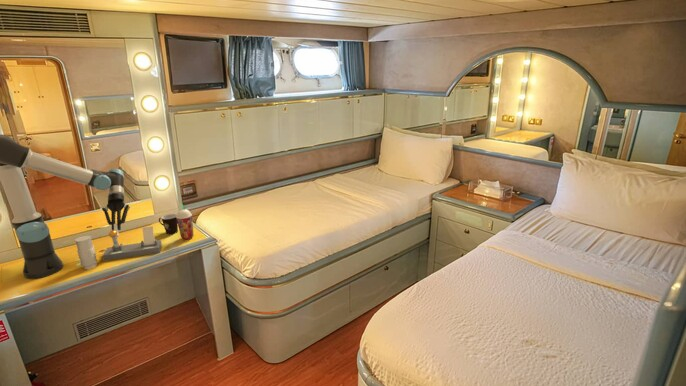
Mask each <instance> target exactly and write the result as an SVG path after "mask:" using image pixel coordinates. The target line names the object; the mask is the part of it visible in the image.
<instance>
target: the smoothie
mask: <svg viewBox="0 0 686 386" xmlns="http://www.w3.org/2000/svg"><path fill="white" fill-rule="evenodd" d="M176 215H177V216H176V219H177V223H178V232H179V235H180V238H181V239H182V240H183V241H187V240H190V238H191V239H193V238H194V224H193V223H194V222H193V214H192V212H191V211H190V210H189V209H187V208H185V209H184V204H182V205H181V209H180V210H179V211H178V212H177V213H176ZM192 237H193V238H192Z"/></svg>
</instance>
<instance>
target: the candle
mask: <svg viewBox="0 0 686 386" xmlns="http://www.w3.org/2000/svg"><path fill="white" fill-rule="evenodd" d="M92 240H93V239H92V235H83V236H79V237H77V238H75V239H74V242H75V244H76V245H75V246H76V247H77V256H78V259H79V260H80V265H81V266H82V269H83V270H90V269H93V268H96V267H97V266H98V264H97V262H98V259H97V256H96V255H97V253H96V249H95V246H94V244H93V241H92Z"/></svg>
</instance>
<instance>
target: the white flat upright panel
mask: <svg viewBox="0 0 686 386" xmlns="http://www.w3.org/2000/svg"><path fill="white" fill-rule="evenodd" d="M141 228H142V235H143V236H142V239H143V242H144V245H145V244H152V243H155V239H156V238H155V232H154V231H155V230H154V226H145V227H141Z"/></svg>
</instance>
